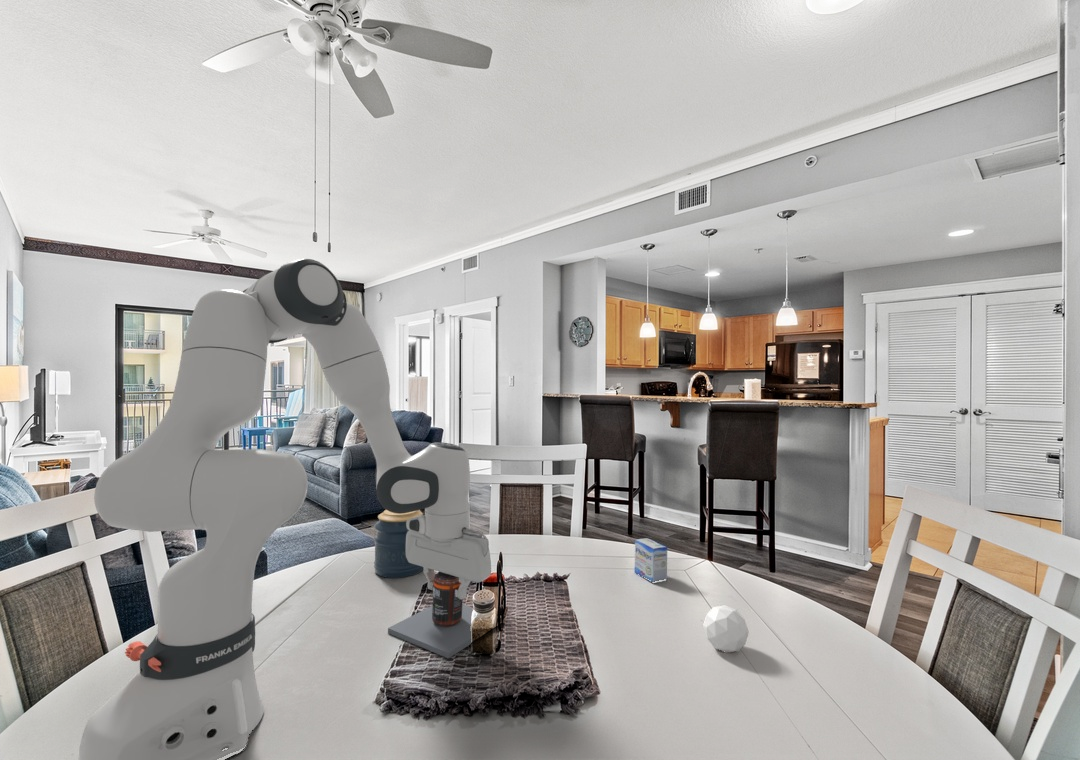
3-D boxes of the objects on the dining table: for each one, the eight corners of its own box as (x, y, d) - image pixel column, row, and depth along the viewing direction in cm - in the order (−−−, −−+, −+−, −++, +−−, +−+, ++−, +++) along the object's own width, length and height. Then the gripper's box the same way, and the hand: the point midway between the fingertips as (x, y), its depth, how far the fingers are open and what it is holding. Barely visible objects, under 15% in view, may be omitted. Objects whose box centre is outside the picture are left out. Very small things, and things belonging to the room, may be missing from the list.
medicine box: (633, 573, 129) (634, 539, 129) (648, 570, 131) (648, 537, 131) (653, 584, 122) (653, 548, 122) (667, 581, 124) (667, 546, 124)
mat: (448, 658, 89) (448, 652, 89) (387, 633, 97) (387, 628, 97) (503, 622, 102) (503, 617, 102) (445, 603, 111) (446, 598, 111)
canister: (374, 563, 135) (374, 497, 135) (423, 558, 139) (424, 494, 139) (373, 581, 123) (374, 509, 123) (427, 575, 126) (428, 505, 126)
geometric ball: (730, 659, 94) (753, 622, 95) (735, 665, 87) (759, 626, 88) (694, 631, 97) (716, 595, 98) (695, 635, 90) (720, 596, 91)
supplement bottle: (464, 613, 103) (467, 559, 103) (457, 628, 97) (460, 571, 97) (436, 611, 104) (439, 557, 104) (427, 626, 98) (430, 568, 98)
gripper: (498, 529, 97) (497, 600, 97) (423, 513, 108) (422, 577, 108) (477, 537, 92) (476, 612, 92) (400, 519, 103) (399, 587, 103)
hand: (446, 593), depth 100 cm, fingers open, 6 cm apart
